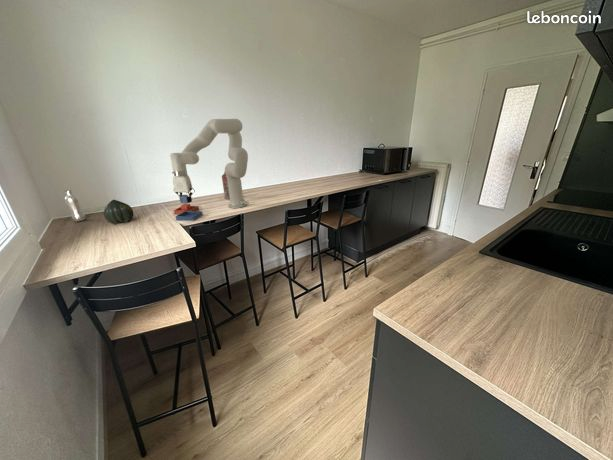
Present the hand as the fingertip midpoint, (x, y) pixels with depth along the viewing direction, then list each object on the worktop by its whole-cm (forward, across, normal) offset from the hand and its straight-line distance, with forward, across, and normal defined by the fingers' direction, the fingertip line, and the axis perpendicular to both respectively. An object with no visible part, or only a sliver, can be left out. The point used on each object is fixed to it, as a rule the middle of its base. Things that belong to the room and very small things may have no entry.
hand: (186, 201), depth 162 cm
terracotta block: (+10, -9, +12) cm, 18 cm away
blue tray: (+11, 0, 0) cm, 11 cm away
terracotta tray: (+11, -9, +12) cm, 18 cm away
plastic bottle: (+11, -69, -13) cm, 71 cm away
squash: (+11, -40, -12) cm, 43 cm away
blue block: (0, 0, 0) cm, 0 cm away
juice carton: (+11, +8, +48) cm, 50 cm away
